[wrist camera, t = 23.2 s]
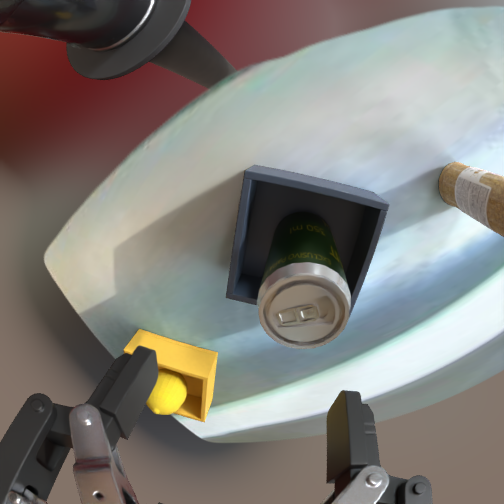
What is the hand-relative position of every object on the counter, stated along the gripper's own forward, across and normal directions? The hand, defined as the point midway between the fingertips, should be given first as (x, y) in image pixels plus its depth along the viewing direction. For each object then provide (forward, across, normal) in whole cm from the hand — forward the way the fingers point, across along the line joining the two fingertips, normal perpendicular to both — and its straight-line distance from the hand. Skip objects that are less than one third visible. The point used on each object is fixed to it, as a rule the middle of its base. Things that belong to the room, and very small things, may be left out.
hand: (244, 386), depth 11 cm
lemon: (+17, +10, +22) cm, 29 cm away
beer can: (+17, -2, -1) cm, 17 cm away
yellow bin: (+17, +10, +22) cm, 30 cm away
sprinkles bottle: (+18, -16, -10) cm, 26 cm away
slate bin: (+17, -2, -1) cm, 18 cm away
